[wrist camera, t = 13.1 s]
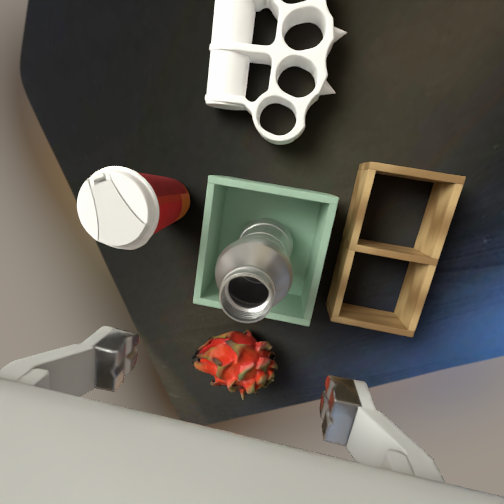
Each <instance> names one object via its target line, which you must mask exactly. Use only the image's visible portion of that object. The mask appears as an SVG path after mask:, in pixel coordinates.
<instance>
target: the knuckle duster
mask: <svg viewBox="0 0 504 504" xmlns="http://www.w3.org/2000/svg"><path fill="white" fill-rule="evenodd" d="M264 8H269V9H270V10H271V11H272V13H273V15H274V17H275V18H276V19H277V20H278V24H277V31H276V38H275V41H274V43H273V44H271V45H269V46H264V45H255V44H252V38H253V30H254V21H255V13H256V12H259V11H261V10H262V9H264ZM306 22H310V23H313V24H315V25H317V26H318V27H319V28H320V29H321V31H322V34H323V40H322V41H321V43H320V44H319V45H317V46H316V47H314V48H311V49H307V50H302V51H296V50H293V49H291V48H290V47H289V46H288V45H287V44H286V43H285V41H284V37H285V34H286V33H287V31H288V30H289V29H290V28H291V27H293V26H295V25H297V24H302V23H306ZM346 33H347V32H345V31H343V30H341V29H338V28H336V27H334V24H333V17H332V16H331V14H330V12H329V10H328V7H327V4H326V0H306V1H303V2H299V3H295V4H287V3H285V2H283V1H282V0H215V8H214V19H213V30H212V41H211V44H210V63H209V74H208V85H207V94H206V95H205V101H206V105H208V106H211V107H216V108H221V109H228V110H247V111H248V112H249V113H250V114H251V115H252V118H253V122H254V125H255V127H256V129H257V130H258V132H259V133H260V135H261V136H262V137H263V138H264V139H265V140H266V141H268V142H270V143H273V144H277V145H284V144H288V143H291V142H293V141H294V140H296V139H297V138H298V137H299V136H300V135H301V134H302V133H303V131H304V129H305V116H306V113H307V111H308V109H309V108H310V106H311V105H312V104H313V103H314V102H316V101H317V100H318V98H319V96H320V95H327V94H335V91H334V90H333V89H332V87H331V86H330V85H329V83H328V82H327V81H326V79H327V77H328V72H327V68H326V58H327V56H328V54H329V53H330V51H331V48H332V45H333V43H334V42H336V41H337V40H338V39H339V38H341V37H342V36H343V35H345V34H346ZM249 63H259V64H268V65H270V66H271V67H272V68H271V75H270V82H269V89H268V91H267V92H265V93H264V94H262V95H261V96H260V97H259V98H258V99H257V100H256V101H254V102H250V101H248V100H247V99H246V98H245V96H246V88H247V80H248V71H249ZM292 66H297V67H300V68H302V69H305V70H307V71H308V72H310V73H311V74H312V76H313V77H314V80H315V89H314V90H313V91H312V92H311V93H310V94H309V95H307V96H305V97H302V98H296V97H293V96H291V95H289V94H287V93H285V92H283V91H282V90H281V89H280V87H279V86H278V78H279V76H280V74H281V73H282V72H283V71H284V70H285V69H286V68H288V67H292ZM272 103H279V104H282V105H284V106H286V107H288V108H290V109H291V110H292V111H293V112H294V114H295V117H296V124H295V127H294V128H293V129H292V131H291V132H289V133H288V134H286V135H282V136H277V135H274V134H271V133H269V132H267V131H265V130H264V129H263V128H262V127H261V125H260V115H261V113H262V111H263V109H264V108H265V107H266V106H268V105H270V104H272Z"/></svg>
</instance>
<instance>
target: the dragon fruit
mask: <svg viewBox="0 0 504 504" xmlns="http://www.w3.org/2000/svg"><path fill="white" fill-rule="evenodd" d="M243 333H244V334H243ZM243 333H241V332H238V331H231V332H228V333H224V334H221V335H218V336H214V337H210V338H209V339H210V340H209V341H208V342H207V343H206V344H204V345H203V346H201V347H199V348H198V349H197V351H196V352H195V355H193V357H192V359H194V358H195V357H198V358H197V360H196V362H193V364H194V366H195V368H196V369H198V370H199V371H202V372H205V373H208V374H211V375H213V376H214V377H215V382H214V381H213V380H212V381H211V385H212V386H221V385H227V388H228V390H229V392H236V391H237V389H239V391H240V393H241V396H242V400H244V399H245V395H246V392H247V393H248V394H252V393H255V394H257V390H258V389H260V388H264V387H265V388H266V387H267V385H268V384H270V383H271V382H272V381H274V377H275V373H274V369H273V368H275V369H276V370H278V367H277V364H276V362H275V361H274V359H275V356H276V354H275V353H274V352H272V351H270V350H271V349H272V347H273V346H272V345H271V344H270V343H269V342H268V341H264V342H263V341H260V342H258V341H257V340H256V339H255V338H254V337H253V336H252V334H251V332H250V331H249V330H245V331H244V332H243ZM269 357H271V358H272V360H271V359H269ZM199 358H201V361H200V359H199ZM193 368H194V367H193ZM277 372H278V371H277Z"/></svg>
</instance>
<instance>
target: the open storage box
mask: <svg viewBox="0 0 504 504" xmlns="http://www.w3.org/2000/svg"><path fill="white" fill-rule="evenodd" d="M338 200H339V197H336V196H334V195H331V194H328V193H322V192H316V191H311V190H305V189H299V188H293V187H287V186H281V185H275V184H269V183H263V182H257V181H252V180H246V179H240V178H234V177H228V176H216V175H209V176H208V184H207V192H206V200H205V208H204V216H203V224H202V233H201V241H200V249H199V257H198V265H197V273H196V282H195V290H194V298H193V303H195V304H200V305H205V306H210V307H215V308H220V309H222V308H221V305H220V302H219V289H218V287H217V283H216V278H215V266H216V262H217V259H218V257H219V255H220V254H221V252H222V251H223V250H224V249H225V248H226V247H227V246H228V245H229V244H231V243H233V242H234V241H236V240H238V239H239V235H240V233H241V231H242V230H243V228H244V227H245V226H246V225H247V224H248V223H250V222H252V221H253V220H256V219H261V218H270V219H274V220H276V221H278V222H280V223H282V224H283V225H284V226H285V227H286V228H287V229H288V230H289V232H290V234H291V236H292V239H293V250H292V253H291V255H290V257H289V259H290V262H291V265H292V270H293V282H292V285H291V288H290V290H289V292H288V294H287V295H286V296H285V297H284V298H283V300H281V301H280V302H279V303H278V304H276V305H275V306H273V307H272V308H271V310H270V312H269V313H268V315H267V316H266V317H264V318H269V319H274V320H279V321H284V322H289V323H294V324H299V325H304V326H309V325H310V320H311V317H312V313H313V308H314V304H315V300H316V295H317V291H318V287H319V282H320V278H321V274H322V270H323V265H324V261H325V257H326V252H327V248H328V244H329V239H330V235H331V231H332V226H333V222H334V218H335V213H336V209H337V204H338Z"/></svg>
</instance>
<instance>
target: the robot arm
mask: <svg viewBox="0 0 504 504" xmlns="http://www.w3.org/2000/svg"><path fill="white" fill-rule="evenodd" d="M138 342H139V335H138V334H137V333H134V332H129V331H126V330H121V329H117V328H113V327H108V326H102V327H101V328H100V329H98V330H97V331H96V332H95V333H94V334H92V335H91V336H90V337H88V338H87V339H86V340H85V341H83V342H82V343H81V344H73V345H70V346H66V347H62V348H59V349H55V350H52V351H48V352H44V353H41V354H37V355H33V356H30V357H26V358H23V359H19V360H15V361H12V362H11V363H9V364H8V365H6V366H5V367H3V368H2V369H0V504H504V497H502V496H498V495H494V494H490V493H486V492H481V491H477V490H473V489H469V488H464V487H460V486H456V485H452V484H448V483H445V481H444V479H443V477H442V475H441V473H440V471H439V469H438V467H437V465H436V463H435V461H434V459H433V458H432V457H431V456H430V455H429V454H427V453H426V452H425V451H424V450H423V449H422V448H421V447H420V446H419V445H417V444H416V443H415V442H414V441H413V440H412V439H411V438H410V437H409V436H407V435H406V434H405V433H404V432H403V431H402V430H401V429H400V428H398V427H397V426H396V425H395V424H394V423H393V422H392V421H390V419H389V418H387V417H386V416H385V415H384V414H383V413H382V412H381V411H377V410H376V407H375V405H374V402H373V399H372V397H371V394H370V392H369V389H368V386H367V384H366V383H365V382H363V381H358V380H351V379H346V378H341V377H336V376H331V375H328V376H327V378H326V381H325V387H326V390H325V391H324V392H323V393H322V397H321V403H320V417H321V419H322V420H323V423H322V432H323V439H324V441H327V442H330V443H334V444H338V445H342V446H346V448H347V450H348V451H349V453H350V454H351V456H352V457H353V459H354V460H355V461H356V462H355V461H350V460H346V459H342V458H338V457H334V456H329V455H325V454H321V453H317V452H312V451H308V450H304V449H300V448H295V447H291V446H287V445H283V444H278V443H274V442H269V441H265V440H261V439H257V438H253V437H249V436H244V435H240V434H236V433H232V432H228V431H223V430H218V429H215V428H211V427H206V426H202V425H198V424H194V423H189V422H185V421H181V420H177V419H172V418H168V417H164V416H160V415H155V414H151V413H147V412H143V411H139V410H134V409H130V408H126V407H121V406H117V405H113V404H109V403H105V402H100V401H96V400H92V399H88V398H83V397H80V396H82V395H84V394H86V393H87V392H89V391H91V390H93V389H94V388H97V389H102V390H107V391H112V392H115V391H116V390H117V388H118V387H119V386H120V385H121V383H123V381H124V376H126V375H128V374H130V372H131V371H132V370H133V368H134V366H135V364H136V361H137V356H138V351H137V350H136V348H135V346H136V345H137V344H138Z"/></svg>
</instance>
